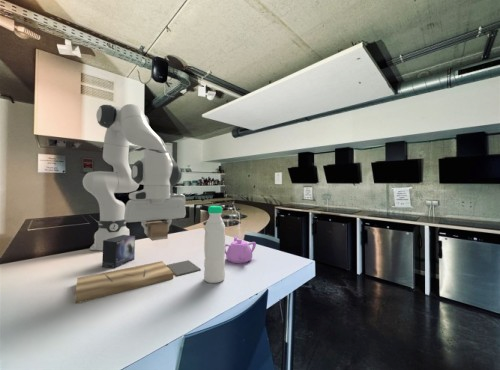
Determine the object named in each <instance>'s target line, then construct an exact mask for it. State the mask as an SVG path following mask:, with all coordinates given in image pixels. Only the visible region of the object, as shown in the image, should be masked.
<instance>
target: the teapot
mask: <svg viewBox="0 0 500 370" xmlns="http://www.w3.org/2000/svg"><path fill="white" fill-rule="evenodd" d="M233 238H234V239H233V241H232V242H231V243H230V244H229V243H228V244H227V243H225V258H226V259H227V260H228V262H229V263H232V264H246V263H249V262H250V261H251V260H252V259H253V252H254V251H255V249H256V246H257V243H256V242H255V241H252V242H247V241H245V240H243V239H241V238H238V236H237V235H234V236H233ZM250 245H252V247H250ZM226 247H228V248H227V250H226ZM248 261H249V262H248Z"/></svg>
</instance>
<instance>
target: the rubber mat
mask: <svg viewBox="0 0 500 370" xmlns="http://www.w3.org/2000/svg"><path fill="white" fill-rule="evenodd" d="M166 266H167V267H168V268H169V269H170V270H171V271H172V272H173V273H174V276H176V277H179V276H185V275H187V274H191V273H196V272H200V271H201V270H202V269H201V268H200V267H199V266H197V265H196V264H195V263H193V262H192V261H190V260H183V261H179V262H173V263H169V264H166Z"/></svg>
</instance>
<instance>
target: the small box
mask: <svg viewBox="0 0 500 370" xmlns="http://www.w3.org/2000/svg"><path fill="white" fill-rule="evenodd" d="M135 242H136V236H135V235H130V234H129V235H121V236H117V237H114V238H110V239H106V240H103V251H102V263H101V267H102V268H108V269H109V268H111V269H116V268H119V267H120V266H123V265H125V264H128V263H130V262H133V261H134V260H135V256H136V255H135V249H136V246H135V245H136V243H135Z"/></svg>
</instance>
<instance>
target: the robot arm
mask: <svg viewBox="0 0 500 370" xmlns="http://www.w3.org/2000/svg"><path fill="white" fill-rule="evenodd" d="M148 117H149V116H147V115H145V113H144V111H143V110H142V109H141V108H140V106H138V105H136V104H134V103H133V104H131V103H127V104H125V105H123V106H122V107H119V106H113V105H111V104H101V105H100V106H98V109H97V111H96V120H97V124H99V126H100V127H103V128H105V129H106V130H105V135H104V139H103V147H102V148H103V149H102V159H103V161H105V162H106V163H107V164H108V165H109V166H112V168H113V171H104V170H102V171H101V170H98V171H97V170H96V171H90V172H89V171H88V172H87V173H86V174H85V175H84V176H83V178H82V186H83V188H84V189H85V191H87V192H88V193H90V194H91V195H92V196H93V197H94V198H95V199H96V200H97V203H98V207H99V220H98V230H97V231H96V232H94V234H93V242H94V243H93V244H92V245H91V246H90V247H89V251H102V252H103V240H106V239H110V238H114V237H117V236H121V235H130V229H129V228H128V227H127V223H138V222H139V223H140V224H141V227H143V231H144V235H146V234H150V228H147V222H153V221H162V220H166V224H168V232H170V226H171V225H172V222H173V220H174V219H184V218H185V217H186V215H187V213H186V212H187V211H186V200H187V199H186V198H187V197H186V196H185V195H184V194H183V193H171V187H174V186H175V185H177V184H178V183H179V182H180V181H181V179H182V168H181V167H180V166H179V164H178V163H177V162H176V161H175V159H174V157H173V155H172V154H171V151H170V150H169V148H168V147H167V145H166V144H165V142H164V140H163V139H162V138H161V136H159V135H158V134H157V133H156V132H155V131H154V130H153V129H152V128H151V126H150V120H149V118H148ZM130 144H132V145H135V146H138V147H141V148H144V149H146V150H145V153H144V157H142V158H141V159H140V160H139V159H138V160H137V161H135V162H133V164H131V167H130V164H129V163H130V162H129V152H130V151H129V150H130ZM140 185H143V189H139V190H138V188H139V187H140ZM124 193H127V194H128V193H129V194H128V198H129V200H128V201H127V202H126V203H124V202H123V201H122V200H119V199H117V198H116V196H115V194H124Z"/></svg>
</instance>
